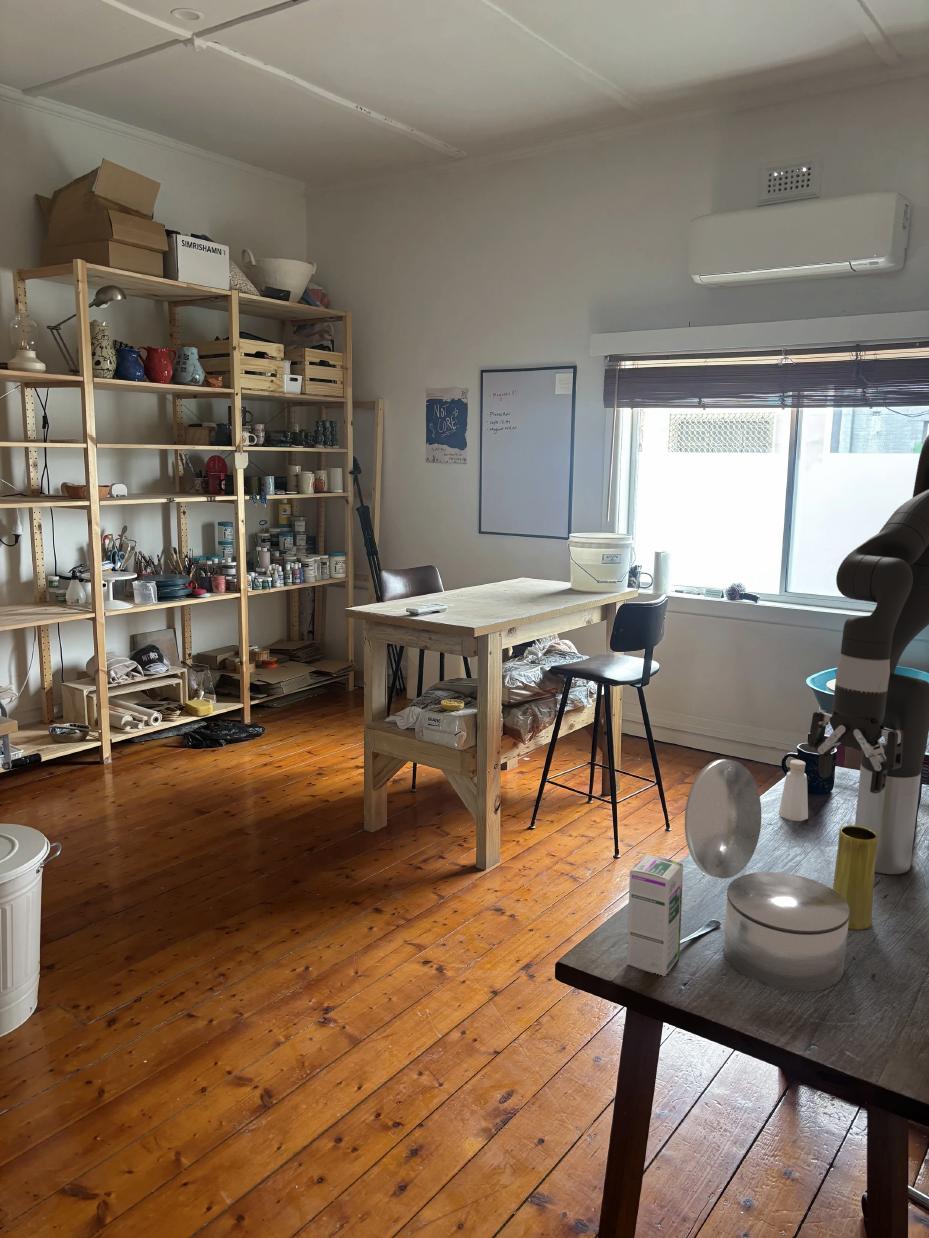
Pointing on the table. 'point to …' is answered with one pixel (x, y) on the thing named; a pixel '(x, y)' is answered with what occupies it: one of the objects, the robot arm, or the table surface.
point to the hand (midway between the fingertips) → (849, 784)
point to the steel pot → (786, 931)
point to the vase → (856, 873)
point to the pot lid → (723, 818)
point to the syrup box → (654, 914)
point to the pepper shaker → (795, 793)
